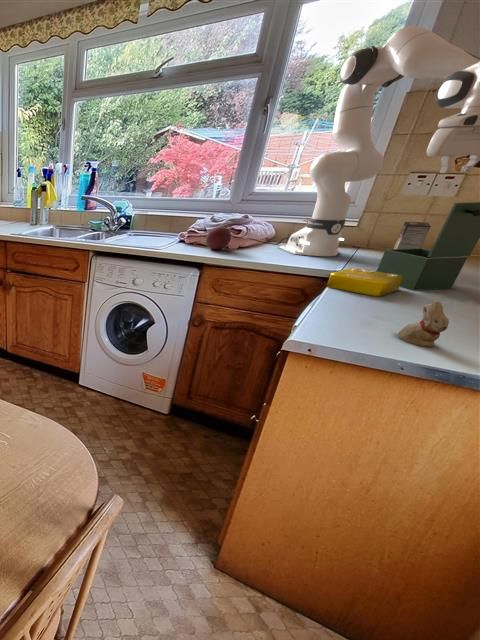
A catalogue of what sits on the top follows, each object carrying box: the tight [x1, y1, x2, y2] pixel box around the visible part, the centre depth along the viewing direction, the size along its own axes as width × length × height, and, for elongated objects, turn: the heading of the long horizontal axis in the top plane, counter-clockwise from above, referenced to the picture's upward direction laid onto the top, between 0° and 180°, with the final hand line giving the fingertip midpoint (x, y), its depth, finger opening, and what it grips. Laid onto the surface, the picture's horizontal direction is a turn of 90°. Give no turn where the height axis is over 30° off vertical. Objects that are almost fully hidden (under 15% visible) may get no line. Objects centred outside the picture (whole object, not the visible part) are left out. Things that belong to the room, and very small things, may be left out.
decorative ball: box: [205, 226, 232, 251], centre depth 197 cm, size 10×10×10 cm
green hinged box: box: [376, 247, 468, 291], centre depth 141 cm, size 15×13×10 cm
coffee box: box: [393, 221, 432, 249], centre depth 156 cm, size 9×6×16 cm
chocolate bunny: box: [397, 300, 450, 348], centre depth 100 cm, size 6×8×10 cm
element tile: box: [326, 267, 403, 297], centre depth 139 cm, size 15×15×5 cm
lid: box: [428, 201, 480, 257], centre depth 126 cm, size 16×13×5 cm
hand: (454, 172), depth 130 cm, fingers open, 5 cm apart
